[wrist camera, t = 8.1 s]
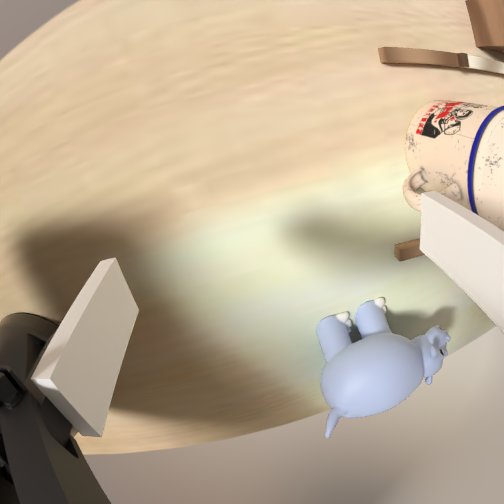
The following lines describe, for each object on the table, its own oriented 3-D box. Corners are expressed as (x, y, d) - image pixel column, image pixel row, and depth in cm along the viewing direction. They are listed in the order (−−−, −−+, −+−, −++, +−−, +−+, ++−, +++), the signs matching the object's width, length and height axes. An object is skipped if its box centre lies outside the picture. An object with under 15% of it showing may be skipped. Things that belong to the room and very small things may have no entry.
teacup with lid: (458, 85, 20) (562, 98, 9) (481, 173, 24) (570, 216, 13) (355, 132, 21) (456, 163, 11) (392, 228, 25) (475, 303, 15)
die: (475, 46, 18) (512, 45, 13) (464, 0, 16) (499, -7, 11) (504, 53, 18) (539, 55, 13) (495, 11, 16) (528, 7, 11)
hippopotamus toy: (423, 344, 33) (460, 399, 25) (311, 389, 34) (331, 456, 25) (427, 275, 28) (480, 332, 20) (291, 327, 29) (315, 406, 21)
